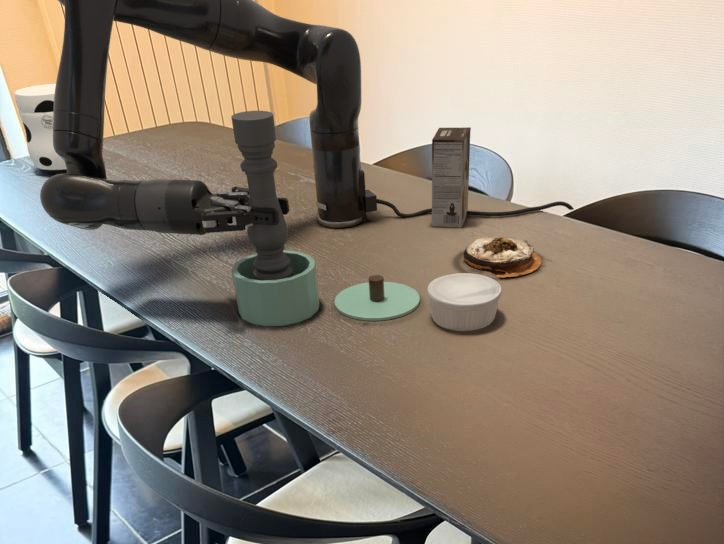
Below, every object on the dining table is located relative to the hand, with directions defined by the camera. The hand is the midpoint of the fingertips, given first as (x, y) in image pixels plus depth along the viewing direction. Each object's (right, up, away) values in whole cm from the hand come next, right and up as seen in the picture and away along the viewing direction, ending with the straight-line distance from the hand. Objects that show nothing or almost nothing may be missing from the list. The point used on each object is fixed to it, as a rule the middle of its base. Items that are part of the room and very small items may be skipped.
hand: (282, 211), depth 104 cm
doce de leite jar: (-67, +45, +81) cm, 114 cm away
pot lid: (+14, -10, +11) cm, 20 cm away
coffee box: (+28, +15, +40) cm, 52 cm away
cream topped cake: (+35, +1, +23) cm, 42 cm away
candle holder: (-2, -9, +9) cm, 13 cm away
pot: (-2, -12, +11) cm, 16 cm away
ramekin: (+27, -15, +6) cm, 31 cm away
